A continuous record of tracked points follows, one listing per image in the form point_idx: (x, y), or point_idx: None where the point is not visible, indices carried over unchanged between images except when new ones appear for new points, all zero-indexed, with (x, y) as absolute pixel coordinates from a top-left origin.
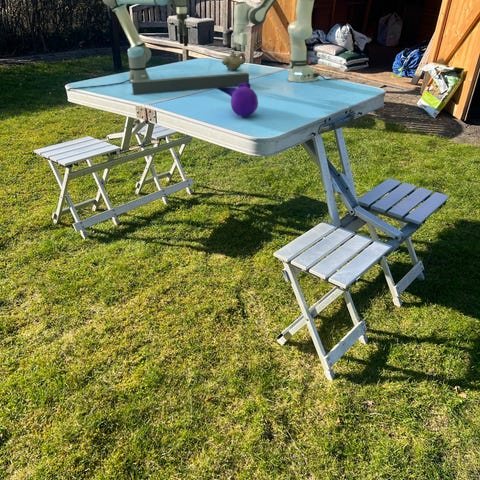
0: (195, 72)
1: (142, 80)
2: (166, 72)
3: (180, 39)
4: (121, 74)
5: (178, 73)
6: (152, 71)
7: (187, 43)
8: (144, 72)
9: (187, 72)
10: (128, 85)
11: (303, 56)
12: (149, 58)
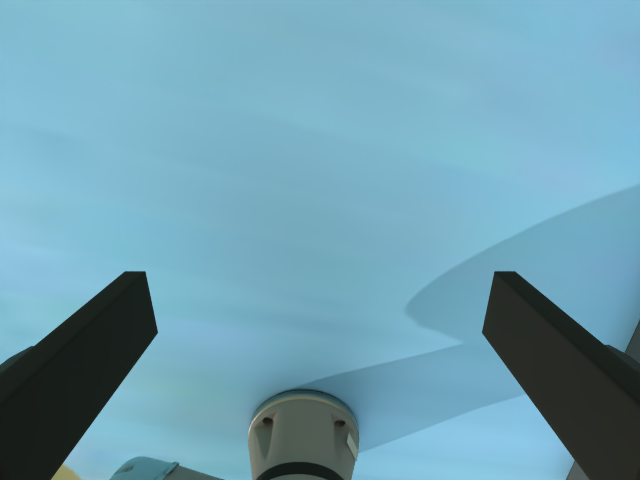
0: (111, 41)
1: (358, 433)
2: (63, 262)
3: (108, 381)
4: (82, 472)
5: (125, 192)
6: (8, 333)
7: (545, 300)
8: (336, 455)
9: (95, 113)
10: (388, 476)
11: None
12: (168, 474)
